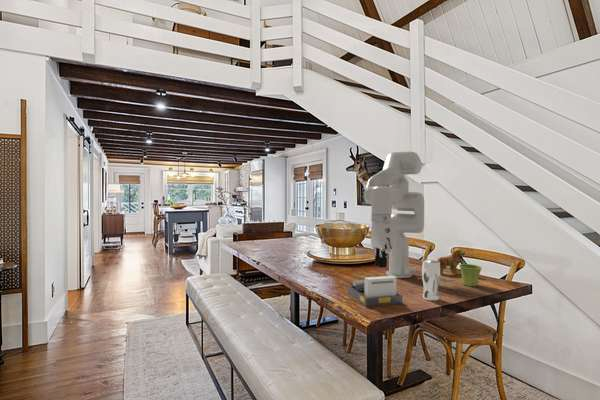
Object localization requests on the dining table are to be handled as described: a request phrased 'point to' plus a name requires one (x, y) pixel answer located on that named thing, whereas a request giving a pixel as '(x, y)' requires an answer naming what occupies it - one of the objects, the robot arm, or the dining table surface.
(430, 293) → the beer glass
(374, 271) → the dining table surface
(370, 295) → the panel
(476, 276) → the plant pot
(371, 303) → the tray
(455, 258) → the figurine
